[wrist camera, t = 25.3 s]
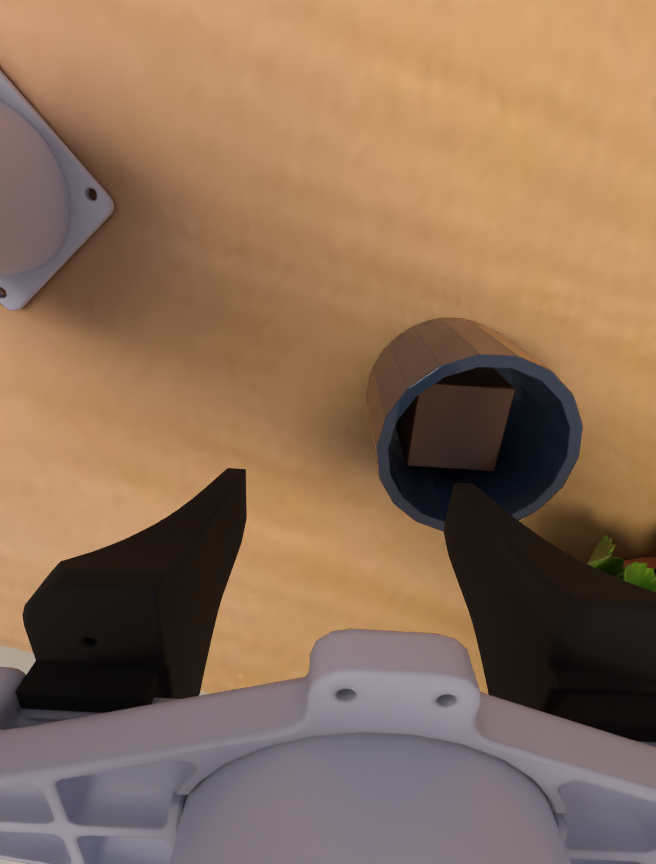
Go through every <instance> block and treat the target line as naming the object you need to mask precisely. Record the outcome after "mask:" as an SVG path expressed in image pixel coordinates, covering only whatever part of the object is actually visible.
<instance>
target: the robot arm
mask: <svg viewBox="0 0 656 864" xmlns="http://www.w3.org/2000/svg"><path fill="white" fill-rule="evenodd" d="M91 189H94V190H95V191H96V193H97V198H96V200H93V199H92V198H91V197H90V190H91ZM113 211H114V202H113V200H112V198H111V197H110V196H109V195H108V193H107V192H106V191H105V190H104V189H103V188H102V187H101V185H100V184H99V183H98V182H97V181H96V180H95V178H94V177H93V176H92V175H91V174H90V173H89V172H88V170H87V169H86V168H85V167H84V166H83V165H82V163H81V162H80V161H79V160H78V159H77V158H76V157H75V155H74V154H73V153H72V152H71V151H70V150H69V149H68V147H67V146H66V145H65V144H64V143H63V142H62V140H61V139H60V138H59V137H58V136H57V135H56V134H55V132H54V131H53V130H52V129H51V128H50V127H49V125H48V124H47V123H46V122H45V121H44V120H43V119H42V117H41V116H40V115H39V114H38V113H37V112H36V111H35V109H34V108H33V107H32V106H31V105H30V104H29V102H28V101H27V100H26V99H25V98H24V97H23V96H22V94H21V93H20V92H19V91H18V90H17V89H16V87H15V86H14V85H13V84H12V83H11V82H10V81H9V79H8V78H7V77H6V76H5V75H4V74H3V73H2V71H1V70H0V303H1V304H2V305H3V306H4V307H5V308H7V309H8V310H11V311H16V310H19V309H21V308H23V307H24V306H25V305H26V304H27V303H28V301H29V300H30V299H31V298H32V297H33V296H34V295H35V294H36V293H37V292H38V291H39V290H40V289H41V288H42V287H43V286H44V285H45V284H46V283H47V282H48V280H49V279H50V278H51V277H52V276H53V275H54V274H55V273H56V272H57V271H58V270H59V269H60V268H61V267H62V266H63V265H64V264H65V263H66V262H67V261H68V259H69V258H70V257H71V256H72V255H73V254H74V253H75V252H76V251H77V250H78V249H79V248H80V247H81V246H82V245H83V244H84V243H85V242H86V241H87V240H88V238H89V237H90V236H91V235H92V234H93V233H94V232H95V231H96V230H97V229H98V228H99V227H100V226H101V225H102V224H103V223H104V222H105V221H106V220H107V219H108V217H109V216H110V215H111V214H112V213H113ZM1 288H3V289H4V290H5V291H6V294H7V295H6V296H4V295H3V294H2V292H1ZM246 518H247V516H246V469H234V468H227V469H226V470H225V471H224V472H223V473H222V474H220V475H219V476H218V477H217V478H216V479H215V480H214V481H213V482H212V483H210V484H209V485H208V486H207V487H206V488H205V489H204V490H202V491H201V492H200V493H199V494H198V495H196V496H195V497H194V498H193V499H192V500H190V501H189V502H188V503H186V504H185V505H184V506H182V507H181V508H180V509H178V510H177V511H175V512H174V513H172V514H171V515H169V516H168V517H166V518H165V519H163V520H161V521H160V522H158V523H156V524H154V525H153V526H151V527H149V528H147V529H145V530H143V531H141V532H139V533H137V534H135V535H133V536H131V537H129V538H127V539H124V540H122V541H120V542H117V543H115V544H112V545H110V546H107V547H104V548H102V549H99V550H96V551H93V552H90V553H87V554H84V555H80V556H77V557H74V558H71V559H67V560H64V561H61V562H60V563H59V564H58V565H57V566H56V567H55V568H54V569H53V570H52V572H51V573H50V574H49V575H48V576H47V578H46V579H45V580H44V581H43V583H42V584H41V585H40V587H39V588H38V589H37V591H36V592H35V593H34V594H33V596H32V597H31V598H30V599H29V601H28V602H27V603H26V605H25V607H24V611H23V621H24V626H25V629H26V632H27V635H28V638H29V641H30V644H31V647H32V650H33V653H34V655H35V659H36V662H35V663H34V664H33V666H32V667H31V669H30V670H29V672H28V673H27V675H26V674H25V673H24V672H22V671H20V670H19V669H15V668H10V667H0V859H4V860H9V861H15V862H21V863H27V864H656V592H653V591H650V590H648V589H645V588H642V587H639V586H637V585H634V584H631V583H629V582H626V581H624V580H622V579H619V578H617V577H615V576H612V575H610V574H608V573H605V572H603V571H601V570H599V569H597V568H595V567H593V566H591V565H589V564H587V563H585V562H583V561H581V560H579V559H577V558H575V557H573V556H571V555H570V554H568V553H566V552H564V551H563V550H561V549H559V548H558V547H556V546H554V545H553V544H551V543H549V542H548V541H546V540H545V539H543V538H542V537H540V536H539V535H537V534H536V533H534V532H533V531H532V530H530V529H529V528H527V527H526V526H525V525H523V524H522V523H521V522H519V521H518V520H517V519H515V518H514V517H513V516H512V515H510V514H509V513H508V512H507V511H505V510H504V509H503V508H502V507H500V506H499V505H498V504H497V503H496V502H494V501H493V500H492V499H491V498H490V497H488V496H487V495H486V494H485V493H484V492H482V491H481V490H480V489H479V488H477V487H476V486H475V485H473V484H470V483H454V486H453V491H452V495H451V499H450V504H449V508H448V513H447V517H446V521H445V526H444V535H445V540H446V545H447V550H448V554H449V558H450V561H451V563H452V566H453V569H454V572H455V575H456V577H457V580H458V583H459V586H460V588H461V591H462V594H463V596H464V599H465V602H466V605H467V607H468V610H469V613H470V616H471V619H472V622H473V626H474V630H475V634H476V638H477V642H478V647H479V651H480V655H481V660H482V664H483V669H484V673H485V678H486V683H487V688H488V693H489V695H487V694H484V693H481V692H480V690H479V687H478V684H477V681H476V677H475V674H474V671H473V668H472V664H471V661H470V658H469V655H468V651H467V649H466V648H465V647H464V646H463V645H462V644H461V643H460V642H458V641H457V640H456V639H455V638H451V637H447V636H444V635H440V634H436V633H418V632H401V631H383V630H366V629H345V630H337V631H332V632H330V633H329V634H327V635H325V636H324V637H322V638H320V639H319V640H317V641H316V643H315V645H314V647H313V649H312V651H311V653H310V666H309V671H308V674H307V676H305V677H302V678H296V679H290V680H285V681H279V682H274V683H268V684H263V685H257V686H251V687H246V688H240V689H235V690H229V691H224V692H218V693H212V694H207V695H201V696H199V694H200V689H201V684H202V679H203V675H204V670H205V665H206V661H207V656H208V652H209V647H210V643H211V638H212V634H213V630H214V626H215V622H216V617H217V613H218V609H219V606H220V602H221V599H222V596H223V593H224V590H225V588H226V585H227V582H228V579H229V576H230V574H231V571H232V568H233V565H234V562H235V560H236V557H237V554H238V551H239V548H240V545H241V542H242V537H243V533H244V528H245V523H246Z"/></svg>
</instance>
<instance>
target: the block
mask: <svg viewBox="0 0 656 864" xmlns="http://www.w3.org/2000/svg"><path fill="white" fill-rule="evenodd" d="M514 393H515V388H514V387H513V386H512V385H511V384H510V383H508V382H507V381H506V380H505V379H504V378H503V377H502V376H501V375H500V374H499V373H498V372H497V371H496V370H495V369H494V368H486V367H478V368H474V369H471V370H467V371H464V372H460V373H457V374H453V375H450V376H447V377H444V378H443V379H441V380H440V381H438V382H437V383H435V384H434V385H432V386H431V387H429V388H428V389H426V390H425V391H423V392H422V393H420V394H419V395H417V396H416V397H415V399H414V400H413V401H412V402H411V404H410V405H409V406H408V408H407V409H406V410H405V412H404V413H403V414H402V415H401V417H400V418H399V419H398V421H397V425H396V429H397V433H398V436H399V440H400V443H401V447H402V450H403V454H404V457H405V461H406V464H407V466H419V467H435V468H450V469H466V470H482V471H494V469H495V465H496V461H497V457H498V453H499V450H500V446H501V442H502V438H503V435H504V431H505V427H506V423H507V419H508V416H509V412H510V408H511V404H512V401H513V397H514Z"/></svg>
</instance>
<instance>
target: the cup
mask: <svg viewBox="0 0 656 864" xmlns="http://www.w3.org/2000/svg"><path fill="white" fill-rule="evenodd" d="M478 367H486V368H494V369H495V370H496V371H497V372H498V373H499V374H500V375H501V376H502V377H503V378H504V379H505V380H506V381H507V382H508V383H510V384H511V385H512V386H513V387H514V388H515V393H514V397H513V401H512V404H511V408H510V412H509V416H508V419H507V423H506V427H505V431H504V435H503V438H502V442H501V446H500V450H499V453H498V457H497V461H496V465H495V469H494V471H482V470H466V469H450V468H435V467H419V466H407V464H406V461H405V457H404V454H403V450H402V447H401V443H400V440H399V436H398V433H397V429H396V425H397V421H398V419H399V418H400V417H401V415H402V414H403V413H404V412H405V410H406V409H407V408H408V406H409V405H410V404H411V402H412V401H413V400H414V399H415V397H416V396H417V395H419V394H420V393H422V392H423V391H425V390H426V389H428V388H429V387H431V386H432V385H434V384H435V383H437V382H438V381H440V380H441V379H443V378H444V377H447V376H450V375H453V374H457V373H460V372H464V371H467V370H471V369H474V368H478ZM367 403H368V411H369V419H370V425H371V431H372V437H373V444H374V450H375V456H376V462H377V468H378V474H379V478H380V480H381V482H382V484H383V486H384V488H385V489H386V491H387V493H388V495H389V497H390V498H391V500H392V502H393V503H394V504H395V505H396V506H397V507H398V508H400V509H401V510H402V511H403V512H405V513H406V514H407V515H408V516H410V517H411V518H412V519H413V520H415V521H417V522H418V523H421V524H424V525H427V526H430V527H433V528H435V529H438V530H441V531H444V526H445V521H446V517H447V513H448V508H449V504H450V499H451V495H452V491H453V486H454V483H470V484H473V485H475V486H476V487H477V488H479V489H480V490H481V491H482V492H484V493H485V494H486V495H487V496H488V497H490V498H491V499H492V500H493V501H494V502H496V503H497V504H498V505H499V506H500V507H502V508H503V509H504V510H505V511H507V512H508V513H509V514H510V515H512V516H513V517H514V518H515V519H517V520H518V521H519V520H520V519H522V518H524V517H526V516H528V515H530V514H532V513H534V512H535V511H537V510H538V509H540V508H541V507H542V506H543V505H544V504H545V503H546V502H547V501H548V500H550V499H551V498H552V497H553V496H554V495H555V494H556V493H557V492H558V491H559V490H560V489H561V488H562V487H563V485H564V484H565V482H566V480H567V478H568V476H569V474H570V473H571V471H572V469H573V467H574V465H575V463H576V461H577V460H578V457H579V452H580V444H581V436H582V428H583V426H582V421H581V418H580V414H579V411H578V408H577V404H576V401H575V398H574V396H573V394H572V392H571V391H570V390H569V389H568V388H567V387H566V386H565V385H564V384H563V383H562V382H561V380H560V379H559V378H558V377H557V376H556V375H555V374H554V373H553V372H552V371H551V370H550V369H548V368H547V367H545V366H544V365H542V364H541V363H540V362H538V361H537V360H535V359H534V358H532V357H531V356H529V355H528V354H527V353H525V352H524V351H522V350H521V349H519V348H518V347H517V346H515V345H514V344H512V343H511V342H509V341H508V340H506V339H505V338H504V337H502V336H501V335H499V334H498V333H496V332H495V331H493V330H491V329H489V328H487V327H485V326H483V325H481V324H479V323H476V322H473V321H470V320H466V319H461V318H439V319H434V320H429V321H426V322H423V323H420V324H418V325H415V326H413V327H411V328H409V329H408V330H406V331H404V332H403V333H401V334H400V335H399V336H397V337H396V338H395V339H394V340H392V341H391V342H390V343H389V345H388V346H387V347H386V348H385V349H384V350H383V352H382V353H381V354H380V356H379V357H378V359H377V361H376V362H375V364H374V366H373V369H372V371H371V374H370V377H369V381H368V388H367Z"/></svg>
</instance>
